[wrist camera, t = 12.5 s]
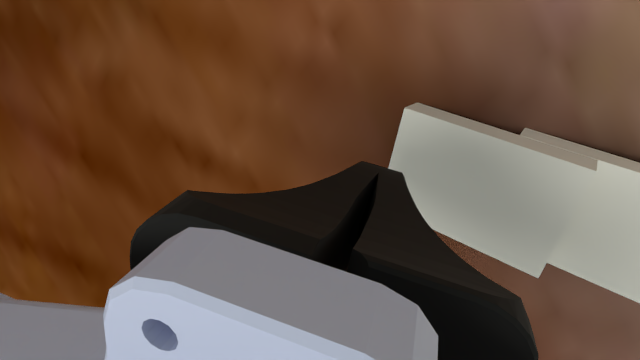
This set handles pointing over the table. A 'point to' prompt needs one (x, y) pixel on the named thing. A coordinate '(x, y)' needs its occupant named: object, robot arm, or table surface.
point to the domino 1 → (490, 185)
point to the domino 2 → (602, 223)
